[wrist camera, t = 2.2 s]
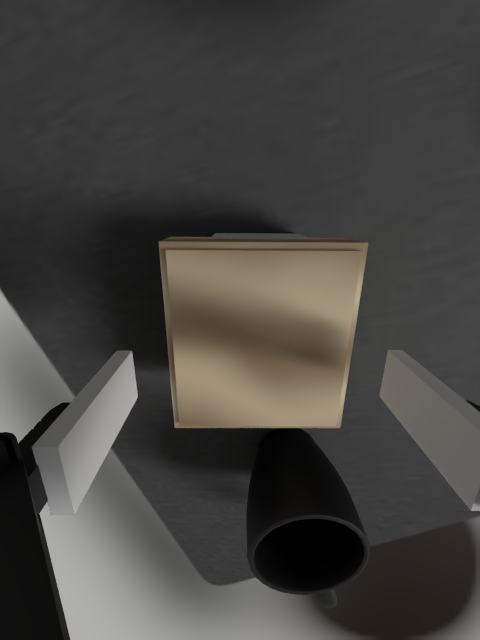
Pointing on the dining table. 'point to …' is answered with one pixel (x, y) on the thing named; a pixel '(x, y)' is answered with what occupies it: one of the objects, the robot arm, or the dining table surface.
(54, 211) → the dining table surface
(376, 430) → the dining table surface
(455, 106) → the dining table surface
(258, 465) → the mug
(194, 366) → the lid
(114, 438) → the robot arm
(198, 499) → the dining table surface
